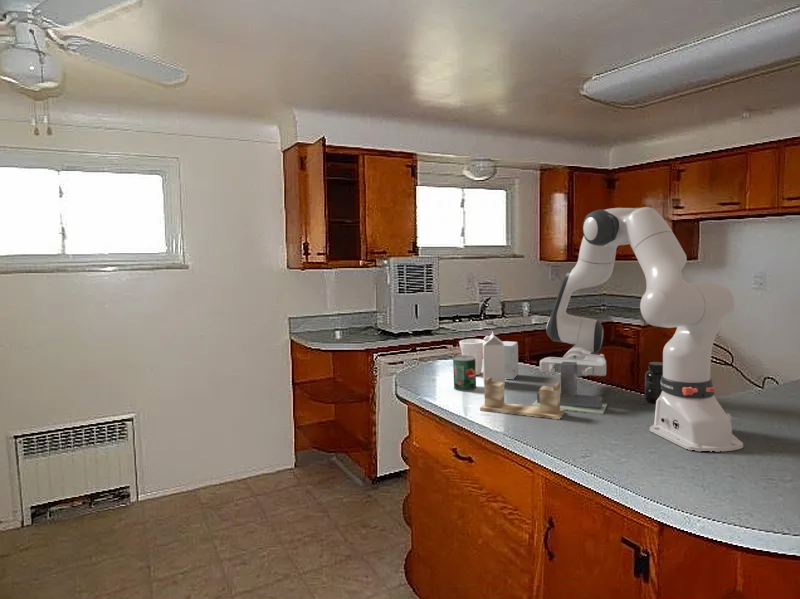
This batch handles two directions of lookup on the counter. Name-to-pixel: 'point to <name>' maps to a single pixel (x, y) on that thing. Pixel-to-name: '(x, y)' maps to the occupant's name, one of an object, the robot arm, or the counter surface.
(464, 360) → the canned tomato
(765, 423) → the counter surface
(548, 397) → the stand
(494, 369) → the milk carton
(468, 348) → the cup
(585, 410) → the mat
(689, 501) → the counter surface
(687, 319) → the robot arm
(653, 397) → the supplement bottle
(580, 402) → the grey inverted t block
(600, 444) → the counter surface
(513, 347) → the small box
